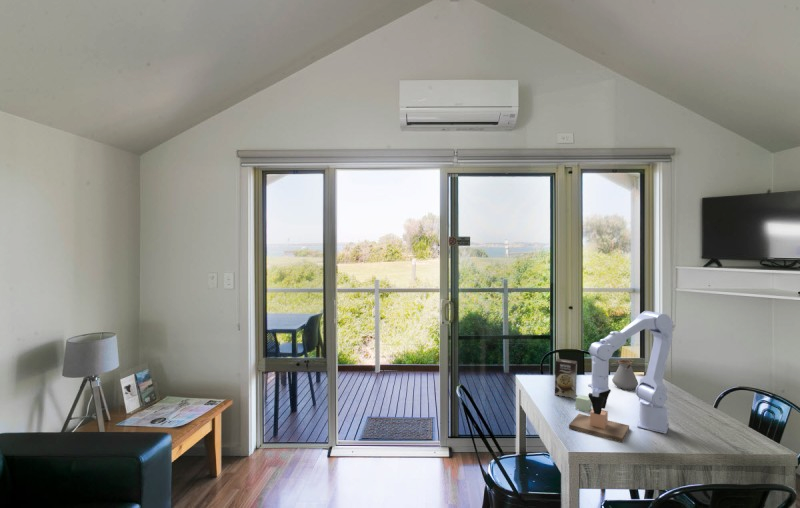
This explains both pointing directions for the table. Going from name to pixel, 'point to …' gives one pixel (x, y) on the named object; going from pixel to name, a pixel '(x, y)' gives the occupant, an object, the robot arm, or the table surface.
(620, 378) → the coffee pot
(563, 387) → the coffee box
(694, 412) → the table surface
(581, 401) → the sage block
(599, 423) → the terracotta block
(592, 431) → the walnut base
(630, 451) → the table surface
